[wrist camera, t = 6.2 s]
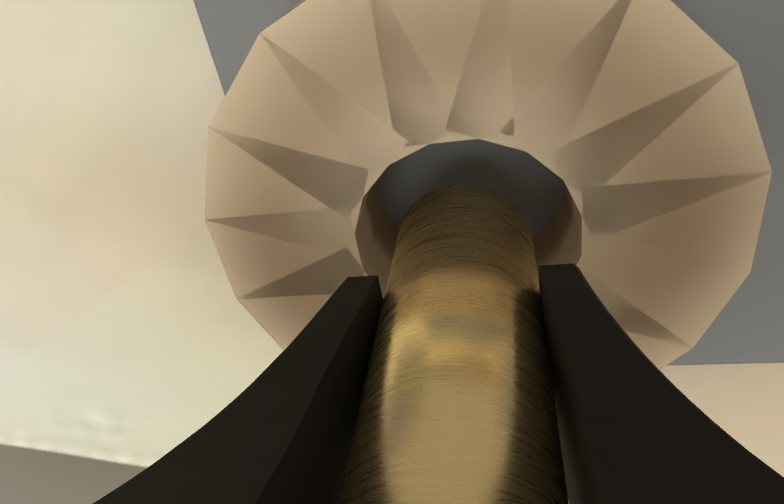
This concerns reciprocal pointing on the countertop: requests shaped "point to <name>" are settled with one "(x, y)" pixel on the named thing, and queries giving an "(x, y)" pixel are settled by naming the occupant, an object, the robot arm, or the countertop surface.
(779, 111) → the mat
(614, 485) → the robot arm
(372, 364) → the peg
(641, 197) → the beige grooved ring
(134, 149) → the countertop surface
